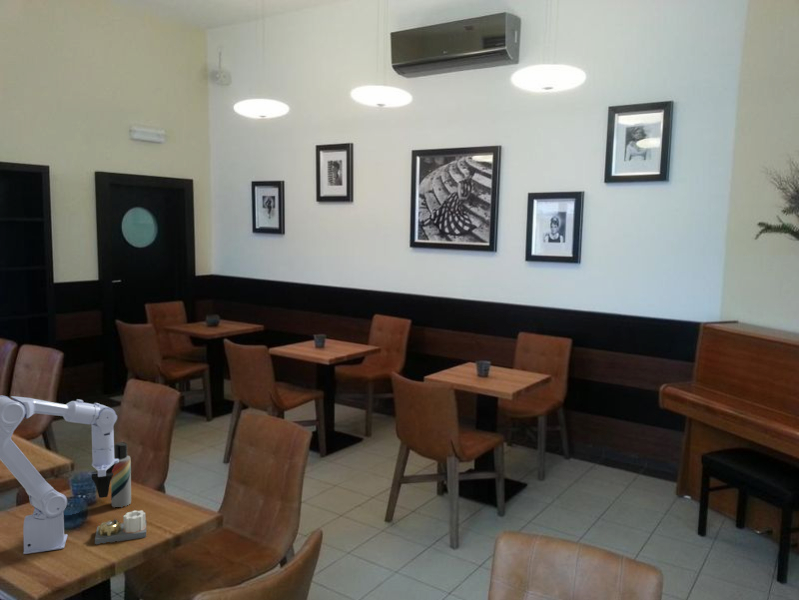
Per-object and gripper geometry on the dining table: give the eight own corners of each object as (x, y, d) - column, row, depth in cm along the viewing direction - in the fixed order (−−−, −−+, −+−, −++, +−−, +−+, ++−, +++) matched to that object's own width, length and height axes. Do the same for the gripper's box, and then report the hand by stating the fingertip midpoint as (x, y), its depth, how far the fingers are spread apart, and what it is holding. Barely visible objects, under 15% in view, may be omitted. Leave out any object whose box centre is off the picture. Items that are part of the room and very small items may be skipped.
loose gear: (123, 533, 169) (123, 520, 168) (124, 525, 174) (123, 511, 173) (145, 530, 171) (145, 517, 170) (145, 522, 176) (145, 509, 176)
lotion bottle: (112, 501, 193) (112, 440, 192) (132, 499, 195) (131, 439, 193) (110, 508, 188) (109, 446, 186) (129, 507, 190) (129, 445, 188)
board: (94, 544, 165) (94, 527, 165) (97, 531, 173) (97, 515, 172) (146, 537, 170) (145, 520, 170) (146, 525, 178) (146, 508, 177)
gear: (97, 537, 166) (97, 526, 166) (99, 528, 171) (99, 517, 171) (120, 534, 168) (120, 523, 168) (121, 525, 174) (121, 514, 173)
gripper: (116, 453, 169) (118, 499, 170) (119, 437, 182) (120, 480, 184) (88, 456, 166) (90, 503, 168) (93, 439, 180) (94, 483, 181)
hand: (104, 491), depth 175 cm, fingers open, 7 cm apart
